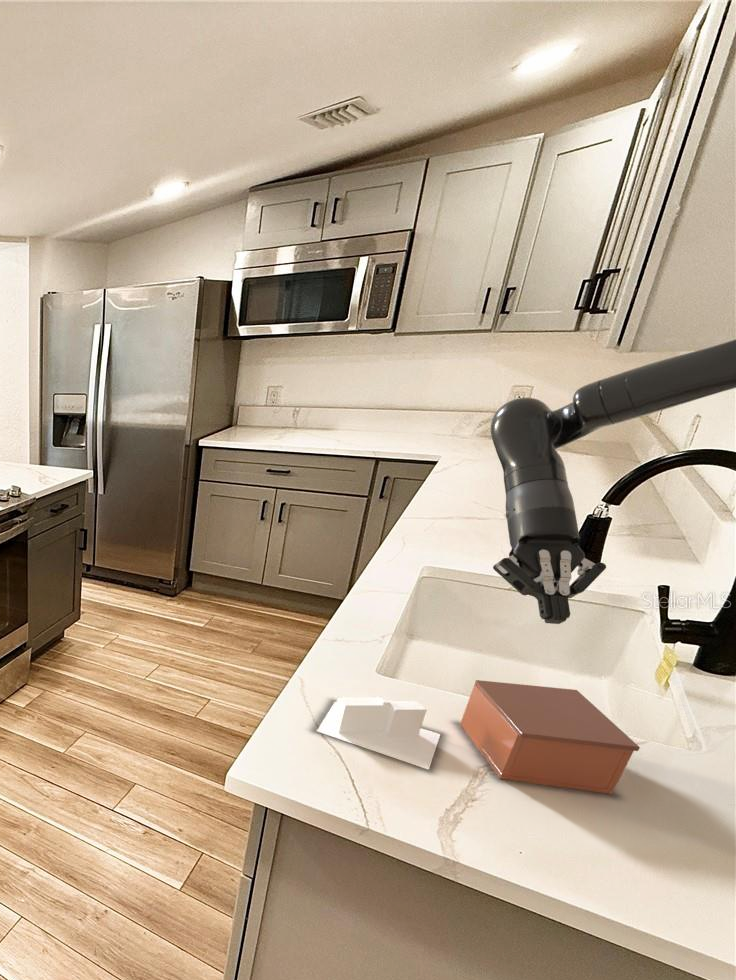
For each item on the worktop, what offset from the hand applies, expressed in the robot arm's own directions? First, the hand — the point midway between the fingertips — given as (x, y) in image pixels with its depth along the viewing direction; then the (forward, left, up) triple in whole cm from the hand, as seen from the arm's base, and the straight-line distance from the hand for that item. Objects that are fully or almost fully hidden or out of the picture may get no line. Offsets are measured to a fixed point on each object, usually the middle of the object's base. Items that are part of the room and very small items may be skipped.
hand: (556, 621), depth 89 cm
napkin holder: (+16, +12, -20) cm, 28 cm away
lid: (-3, +5, -12) cm, 14 cm away
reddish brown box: (-2, +5, -20) cm, 21 cm away
